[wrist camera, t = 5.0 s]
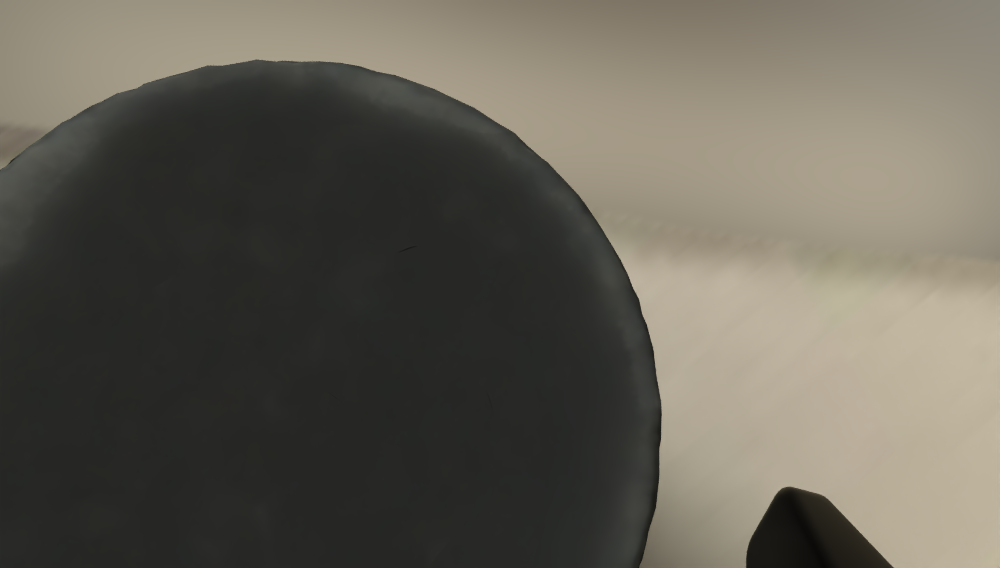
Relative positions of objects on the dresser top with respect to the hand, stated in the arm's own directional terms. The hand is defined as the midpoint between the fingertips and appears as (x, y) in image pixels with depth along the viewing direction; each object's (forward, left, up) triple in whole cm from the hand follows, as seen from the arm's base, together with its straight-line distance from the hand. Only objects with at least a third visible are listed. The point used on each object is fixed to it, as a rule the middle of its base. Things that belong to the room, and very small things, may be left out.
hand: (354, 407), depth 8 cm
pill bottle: (0, 0, -8) cm, 8 cm away
